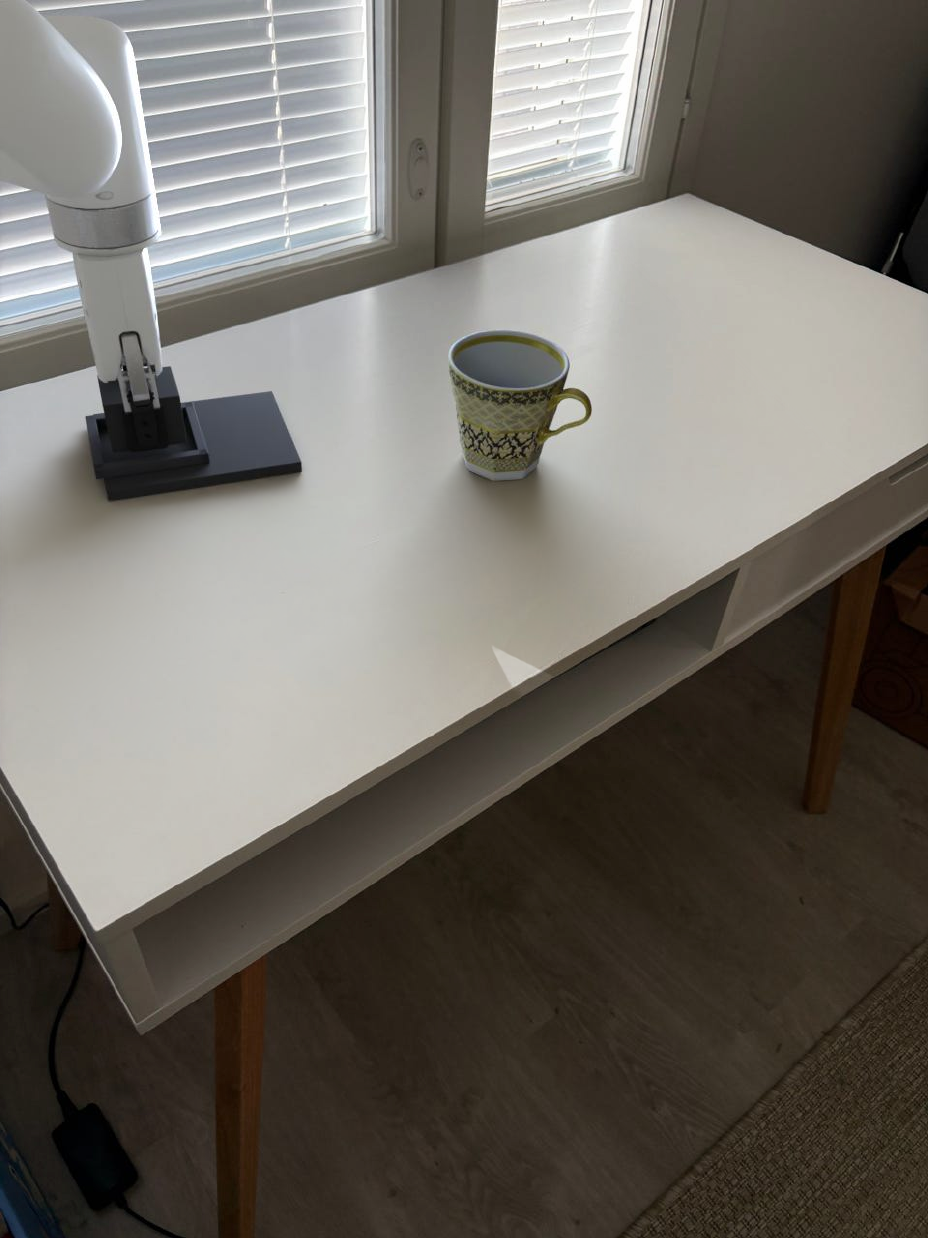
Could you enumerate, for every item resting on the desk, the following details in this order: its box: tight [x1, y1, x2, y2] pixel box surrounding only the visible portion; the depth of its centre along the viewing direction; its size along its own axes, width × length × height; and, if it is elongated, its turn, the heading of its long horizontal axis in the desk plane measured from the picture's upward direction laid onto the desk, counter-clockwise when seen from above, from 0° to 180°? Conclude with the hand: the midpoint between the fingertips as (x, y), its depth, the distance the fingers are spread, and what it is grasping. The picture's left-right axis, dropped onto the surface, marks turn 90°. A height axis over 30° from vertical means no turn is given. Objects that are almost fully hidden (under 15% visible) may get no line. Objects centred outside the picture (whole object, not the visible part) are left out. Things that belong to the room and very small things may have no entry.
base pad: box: [84, 390, 303, 502], centre depth 88 cm, size 17×12×2 cm
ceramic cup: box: [447, 329, 593, 482], centre depth 86 cm, size 13×10×10 cm
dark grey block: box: [96, 365, 187, 453], centre depth 84 cm, size 6×5×4 cm
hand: (144, 427), depth 85 cm, fingers closed on dark grey block, 5 cm apart
